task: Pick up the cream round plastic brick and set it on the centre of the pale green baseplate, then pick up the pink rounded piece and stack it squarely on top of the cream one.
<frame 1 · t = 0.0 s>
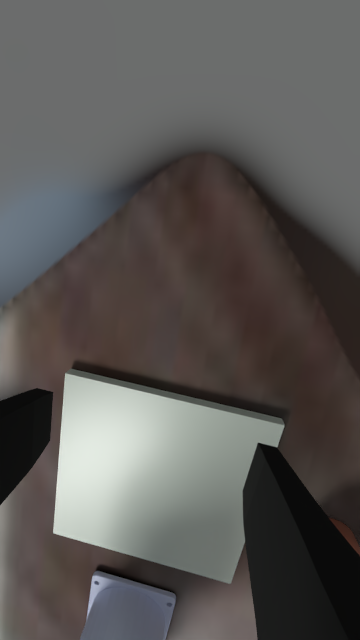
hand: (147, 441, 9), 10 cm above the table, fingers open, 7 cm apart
baseplate: (156, 478, 22), on the table
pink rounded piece: (321, 541, 22), on the table
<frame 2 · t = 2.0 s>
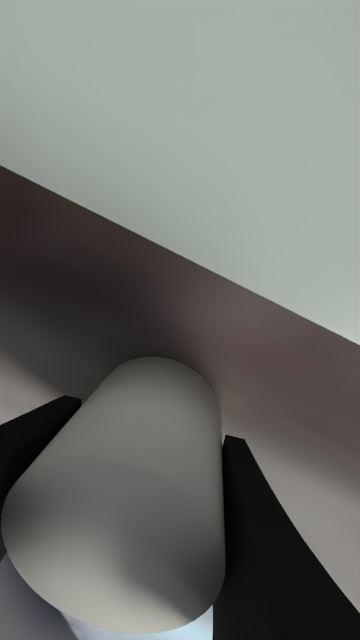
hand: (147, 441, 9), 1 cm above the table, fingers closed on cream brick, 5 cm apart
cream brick: (156, 416, 11), on the table, touching gripper
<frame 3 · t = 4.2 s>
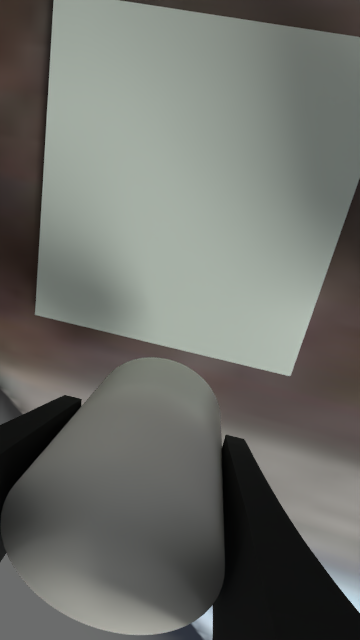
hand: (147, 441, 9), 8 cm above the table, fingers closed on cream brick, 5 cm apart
baseplate: (187, 207, 15), on the table
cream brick: (156, 416, 11), point 7 cm above the table, touching gripper
when the fingers open (3 cm above the table, at t = 6.2 s): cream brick stays where it is, resting on baseplate.
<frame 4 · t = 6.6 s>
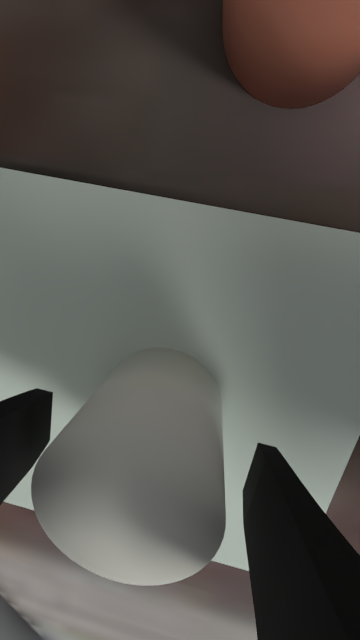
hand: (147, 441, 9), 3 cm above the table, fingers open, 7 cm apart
baseplate: (165, 393, 12), on the table
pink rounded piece: (303, 15, 8), on the table
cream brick: (162, 402, 12), point 1 cm above the table, touching baseplate
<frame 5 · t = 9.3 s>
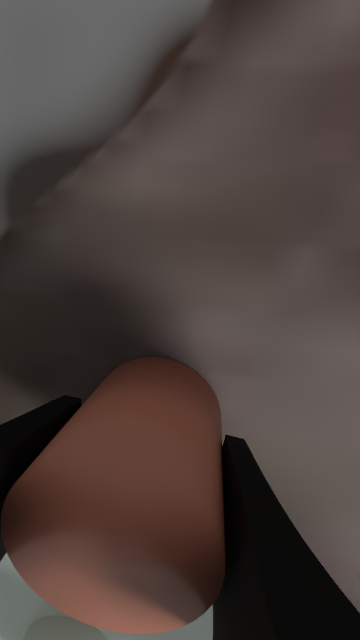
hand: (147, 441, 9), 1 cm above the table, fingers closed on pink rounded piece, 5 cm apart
baseplate: (78, 629, 15), on the table
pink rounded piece: (156, 416, 11), on the table, touching gripper
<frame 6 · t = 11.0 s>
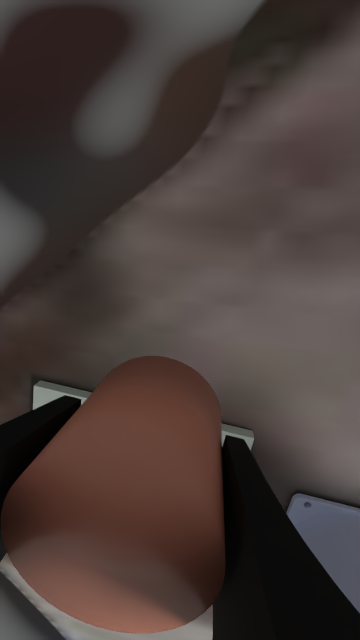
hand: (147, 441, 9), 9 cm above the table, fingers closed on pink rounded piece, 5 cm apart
baseplate: (129, 489, 22), on the table
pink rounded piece: (156, 415, 11), point 8 cm above the table, touching gripper
when the fingers open (8 cm above the table, at t = 12.8 s): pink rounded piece stays where it is, resting on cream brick.
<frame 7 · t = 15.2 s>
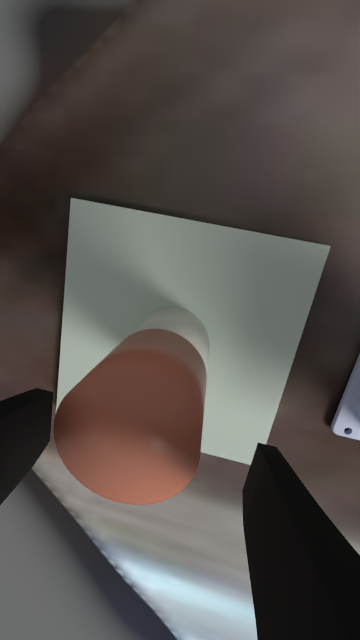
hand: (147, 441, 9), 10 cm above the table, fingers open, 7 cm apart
baseplate: (174, 339, 19), on the table
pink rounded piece: (157, 375, 14), point 6 cm above the table, touching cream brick
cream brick: (172, 343, 19), point 1 cm above the table, touching baseplate, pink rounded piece
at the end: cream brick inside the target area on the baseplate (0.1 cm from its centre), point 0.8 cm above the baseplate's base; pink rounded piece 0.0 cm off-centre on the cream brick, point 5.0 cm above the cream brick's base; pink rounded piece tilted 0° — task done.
